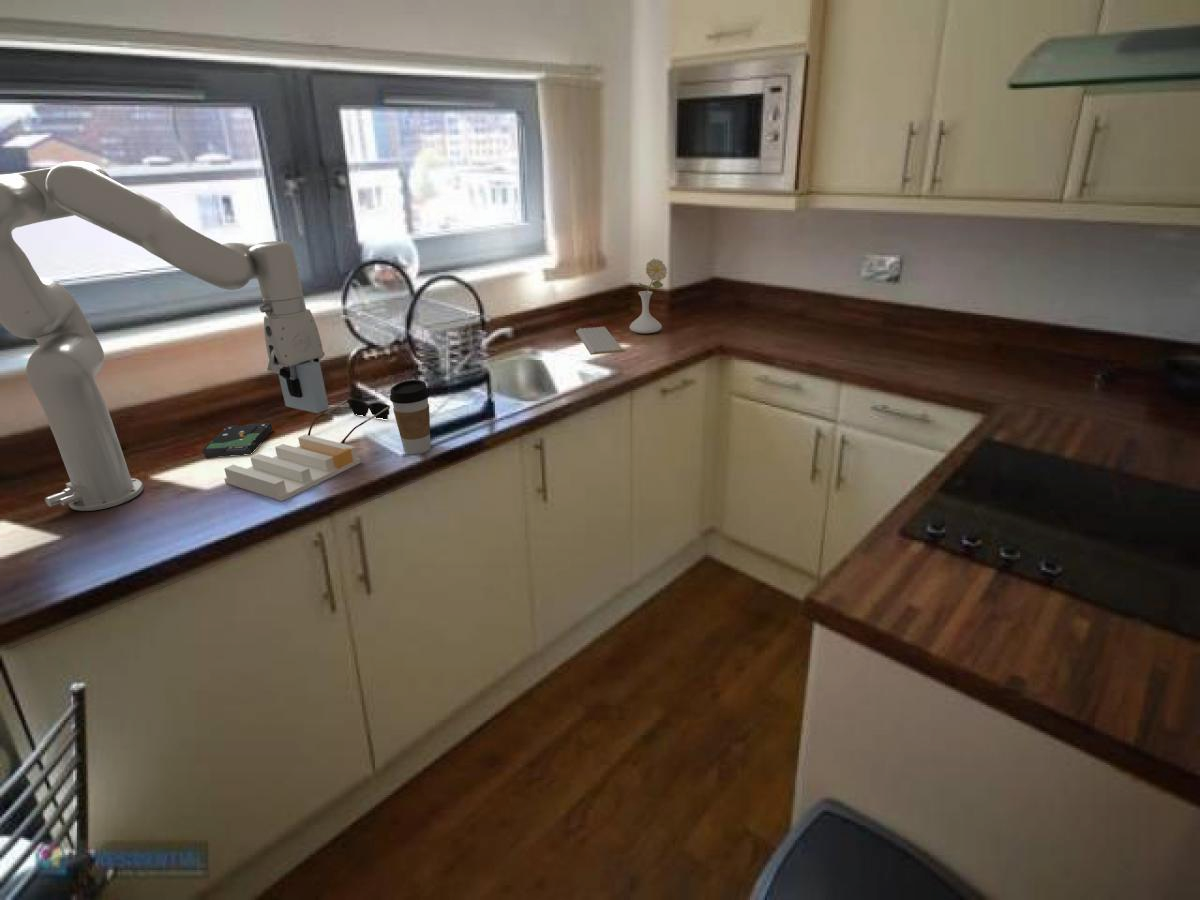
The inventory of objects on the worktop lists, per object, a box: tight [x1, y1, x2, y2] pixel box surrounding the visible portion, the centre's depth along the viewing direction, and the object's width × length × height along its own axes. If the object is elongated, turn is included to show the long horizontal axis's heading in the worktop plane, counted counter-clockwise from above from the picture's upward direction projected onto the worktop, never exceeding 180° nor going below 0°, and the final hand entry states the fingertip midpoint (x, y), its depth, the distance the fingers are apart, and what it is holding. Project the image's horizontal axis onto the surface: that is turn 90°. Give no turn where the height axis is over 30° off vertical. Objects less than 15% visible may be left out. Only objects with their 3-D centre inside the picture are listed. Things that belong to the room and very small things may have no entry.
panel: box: [278, 361, 330, 414], centre depth 147 cm, size 3×10×10 cm, turn 60°
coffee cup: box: [389, 379, 432, 455], centre depth 156 cm, size 8×8×15 cm
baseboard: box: [575, 323, 624, 356], centre depth 238 cm, size 31×3×12 cm
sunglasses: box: [307, 398, 391, 444], centre depth 171 cm, size 14×16×5 cm
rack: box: [223, 434, 362, 502], centre depth 149 cm, size 20×18×4 cm
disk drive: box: [202, 422, 273, 458], centre depth 165 cm, size 10×3×15 cm
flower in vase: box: [629, 258, 668, 334], centre depth 243 cm, size 13×11×25 cm
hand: (303, 393), depth 148 cm, fingers closed on panel, 3 cm apart
